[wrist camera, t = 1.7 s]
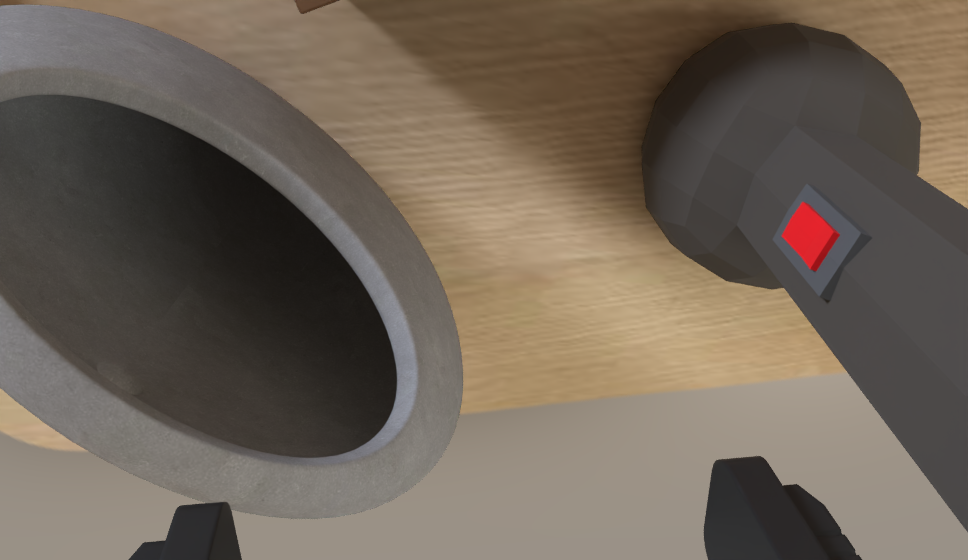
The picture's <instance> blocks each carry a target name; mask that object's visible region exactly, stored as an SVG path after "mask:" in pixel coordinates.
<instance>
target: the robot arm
mask: <svg viewBox="0 0 968 560" xmlns="http://www.w3.org/2000/svg"><path fill="white" fill-rule="evenodd" d="M704 541H705V548H706V553H707V557H708V560H862V559H861V558H860V556H859V555H856V553H855V549H854V548H853V546H852V545H851V543H850V542H849V540H848V539H847V537H846V536H845V535H842V533H841V529H840V527H839V526H838V524H837V523H836V521H835V520H834V519H833V517H832V516H831V514H830V513H829V511H828V510H827V509H826V507H825V506H824V505H823V504H822V503H821V502H819V501H818V500H817V499H816V498H814V497H813V496H812V495H810V494H809V493H808V492H807V491H805V490H804V489H803V488H801V487H800V486H799V485H797V484H795V485H784V486H782V484H781V482H780V481H779V479H778V478H777V476H776V475H775V473H774V472H773V470H772V469H771V467H770V466H769V464H768V463H767V461H766V460H765V459H764V458H763V457H761V456H755V457H743V458H733V459H721V460H716V461H715V463H714V465H713V469H712V474H711V482H710V488H709V495H708V502H707V510H706V517H705V524H704ZM129 560H242V558H241V554H240V549H239V544H238V540H237V535H236V530H235V526H234V521H233V516H232V511H231V508H230V505H229V503H228V502H216V503H205V504H193V505H182V506H179V507H178V508H177V509H176V511H175V514H174V517H173V520H172V523H171V526H170V529H169V532H168V535H167V538H166V541H156V542H145V543H143V544H142V545H141V546H140V547H139V548H138V550H137V551H136V552H135V553H134V554H133V555H132V556H131V558H130V559H129Z"/></svg>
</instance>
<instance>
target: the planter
mask: <svg viewBox="0 0 968 560" xmlns="http://www.w3.org/2000/svg"><path fill="white" fill-rule="evenodd" d="M0 388H1V389H2V390H3V391H5V392H6V393H7V394H8V395H9V396H10V397H12V398H13V399H14V400H15V401H16V402H18V403H19V404H20V405H22V406H23V407H24V408H26V409H27V410H28V411H29V412H31V413H32V414H33V415H35V416H36V417H37V418H39V419H40V420H41V421H43V422H44V423H45V424H47V425H48V426H50V427H51V428H53V429H54V430H56V431H57V432H59V433H60V434H62V435H63V436H65V437H66V438H68V439H69V440H71V441H72V442H74V443H76V444H77V445H79V446H81V447H82V448H84V449H86V450H88V451H89V452H91V453H93V454H94V455H96V456H98V457H99V458H101V459H103V460H105V461H107V462H109V463H111V464H113V465H115V466H117V467H119V468H121V469H123V470H125V471H127V472H129V473H131V474H133V475H135V476H137V477H139V478H142V479H144V480H146V481H149V482H151V483H153V484H155V485H158V486H160V487H163V488H165V489H168V490H171V491H173V492H176V493H179V494H181V495H184V496H187V497H189V498H192V499H196V500H199V501H202V502H205V503H216V502H228V503H229V505H230V508H231V510H235V511H240V512H245V513H250V514H256V515H263V516H269V517H280V518H291V519H318V518H330V517H340V516H345V515H351V514H356V513H359V512H362V511H366V510H369V509H373V508H376V507H378V506H380V505H382V504H385V503H387V502H389V501H391V500H393V499H395V498H396V497H398V496H400V495H401V494H403V493H405V492H407V491H408V490H409V489H410V488H412V487H413V486H414V485H416V484H417V483H418V482H420V481H421V480H422V479H423V478H424V477H425V476H426V475H427V474H428V473H429V472H430V471H431V469H432V468H433V467H434V466H435V465H436V463H437V462H438V461H439V459H440V458H441V457H442V455H443V453H444V451H445V450H446V448H447V446H448V444H449V442H450V440H451V438H452V435H453V433H454V430H455V428H456V424H457V421H458V418H459V413H460V408H461V402H462V393H463V365H462V354H461V348H460V342H459V336H458V332H457V328H456V323H455V320H454V317H453V313H452V310H451V307H450V304H449V301H448V298H447V295H446V293H445V290H444V288H443V286H442V283H441V281H440V279H439V276H438V274H437V272H436V270H435V268H434V266H433V264H432V262H431V260H430V258H429V257H428V255H427V253H426V251H425V249H424V248H423V246H422V244H421V243H420V241H419V239H418V238H417V236H416V235H415V233H414V232H413V230H412V229H411V227H410V226H409V224H408V223H407V221H406V220H405V219H404V217H403V216H402V214H401V213H400V212H399V210H398V209H397V208H396V206H395V205H394V204H393V203H392V201H391V200H390V199H389V197H388V196H387V195H386V194H385V193H384V191H383V190H382V189H381V188H380V187H379V186H378V184H377V183H376V182H375V181H374V180H373V179H372V178H371V177H370V175H369V174H368V173H367V172H366V171H365V170H364V169H363V168H362V167H361V166H360V165H359V164H358V163H357V162H356V161H355V160H354V159H353V158H352V157H351V156H350V155H349V154H348V153H347V152H346V151H345V150H344V149H343V148H342V147H341V146H340V145H339V144H338V143H337V142H336V141H335V140H334V139H332V138H331V137H330V136H329V135H328V134H327V133H326V132H324V131H323V130H322V129H321V128H320V127H319V126H318V125H316V124H315V123H314V122H313V121H311V120H310V119H309V118H308V117H306V116H305V115H304V114H303V113H302V112H300V111H299V110H298V109H296V108H295V107H294V106H292V105H291V104H290V103H288V102H287V101H286V100H284V99H283V98H282V97H280V96H279V95H277V94H276V93H274V92H273V91H272V90H270V89H269V88H267V87H266V86H264V85H263V84H261V83H260V82H258V81H257V80H255V79H253V78H252V77H250V76H249V75H247V74H245V73H244V72H242V71H240V70H239V69H237V68H235V67H234V66H232V65H230V64H228V63H227V62H225V61H223V60H221V59H219V58H218V57H216V56H214V55H212V54H210V53H208V52H206V51H204V50H202V49H200V48H198V47H196V46H194V45H192V44H190V43H187V42H185V41H183V40H181V39H178V38H176V37H174V36H171V35H169V34H166V33H164V32H161V31H159V30H156V29H153V28H150V27H147V26H144V25H142V24H139V23H135V22H132V21H128V20H125V19H122V18H118V17H114V16H110V15H105V14H101V13H96V12H91V11H86V10H81V9H74V8H67V7H58V6H47V5H2V6H0Z"/></svg>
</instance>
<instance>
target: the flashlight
mask: <svg viewBox="0 0 968 560" xmlns="http://www.w3.org/2000/svg"><path fill="white" fill-rule="evenodd" d="M920 130H921V122H920V120H919V118H918V116H917V114H916V112H915V110H914V108H913V106H912V104H911V101H910V99H909V97H908V95H907V93H906V91H905V89H904V87H903V85H902V83H901V82H900V81H899V80H898V79H897V77H896V76H895V75H894V74H893V73H892V72H891V71H890V70H889V69H888V68H887V67H886V66H885V65H884V64H883V63H882V62H880V61H879V60H877V59H876V58H875V57H873V56H872V55H871V54H869V53H868V52H867V51H865V50H864V49H862V48H861V47H860V46H858V45H857V44H856V43H854V42H853V41H851V40H850V39H849V38H847V37H846V36H845V35H841V34H837V33H833V32H829V31H824V30H820V29H816V28H812V27H807V26H803V25H799V24H795V23H785V24H774V25H768V26H762V27H757V28H751V29H745V30H740V31H734V32H728V33H726V34H724V35H723V36H721V37H720V38H718V39H717V40H715V41H714V42H712V43H711V44H709V45H708V46H706V47H705V48H703V49H702V50H700V51H699V52H698V53H696V54H695V55H693V56H692V57H690V58H689V59H687V60H686V61H685V62H684V63H683V65H682V66H681V67H680V69H679V70H678V72H677V73H676V74H675V76H674V77H673V78H672V80H671V81H670V82H669V84H668V85H667V87H666V88H665V89H664V91H663V92H662V93H661V95H660V96H659V97H658V99H657V100H656V102H655V105H654V108H653V112H652V115H651V118H650V122H649V125H648V128H647V131H646V135H645V138H644V141H643V145H642V170H643V181H644V192H645V203H646V208H647V209H648V211H649V212H650V214H651V215H652V217H653V218H654V220H655V221H656V223H657V224H658V225H659V227H660V228H661V230H662V231H663V233H664V234H665V236H666V237H667V239H668V240H669V242H670V243H671V244H672V245H673V246H675V247H676V248H677V249H678V250H680V251H681V252H682V253H683V254H685V255H686V256H687V257H689V258H690V259H692V260H694V261H695V262H697V263H698V264H700V265H702V266H703V267H705V268H706V269H708V270H710V271H711V272H713V273H714V274H716V275H718V276H719V277H721V278H722V279H724V280H726V281H730V282H735V283H740V284H746V285H751V286H756V287H762V288H767V289H778V288H785V290H786V291H787V292H788V294H789V295H790V296H791V298H792V299H793V300H794V302H795V303H796V304H797V306H798V307H799V308H800V310H801V311H802V312H803V314H804V315H805V316H806V318H807V319H808V320H809V322H810V323H811V324H812V326H813V327H814V328H815V330H816V331H817V332H818V334H819V335H820V336H821V338H822V339H823V340H824V342H825V343H826V344H827V346H828V347H829V348H830V350H831V351H832V352H833V354H834V355H835V356H836V358H837V359H838V360H839V362H840V363H841V364H842V366H843V367H844V368H845V370H846V371H847V372H848V374H849V375H850V376H851V378H852V379H853V380H854V381H855V383H856V384H857V385H858V387H859V388H860V390H861V391H862V392H863V394H864V395H865V396H866V398H867V399H868V400H869V402H870V403H871V404H872V405H873V407H874V408H875V410H876V411H877V412H878V413H879V415H880V416H881V417H882V419H883V420H884V421H885V423H886V424H887V425H888V427H889V428H890V429H891V431H892V432H893V433H894V434H895V436H896V437H897V439H898V440H899V441H900V443H901V444H902V445H903V447H904V448H905V449H906V451H907V452H908V453H909V455H910V456H911V457H912V459H913V460H914V461H915V463H916V464H917V465H918V466H919V468H920V469H921V471H922V472H923V473H924V475H925V476H926V477H927V479H928V480H929V481H930V483H931V484H932V485H933V487H934V488H935V489H936V490H937V492H938V493H939V495H940V496H941V497H942V499H943V500H944V501H945V503H946V504H947V505H948V507H949V508H950V509H951V510H952V512H953V513H954V515H955V516H956V517H957V519H958V520H959V521H960V523H961V524H962V525H963V527H964V528H965V529H966V530H967V532H968V209H967V208H965V207H964V206H962V205H961V204H959V203H958V202H956V201H955V200H953V199H952V198H950V197H949V196H947V195H945V194H944V193H942V192H941V191H939V190H938V189H936V188H935V187H933V186H932V185H930V184H929V183H927V182H926V181H924V180H923V179H921V178H920V177H918V176H917V174H918V172H919V153H920Z"/></svg>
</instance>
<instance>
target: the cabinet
mask: <svg viewBox="0 0 968 560" xmlns="http://www.w3.org/2000/svg"><path fill="white" fill-rule="evenodd" d="M336 1H339V0H295V2H296V5H297V7H298V9H299V12H300V13H301V14H304V13H307V12H310V11H312V10H315V9H318V8H320V7H323V6H326V5H328V4H331V3H334V2H336Z"/></svg>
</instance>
